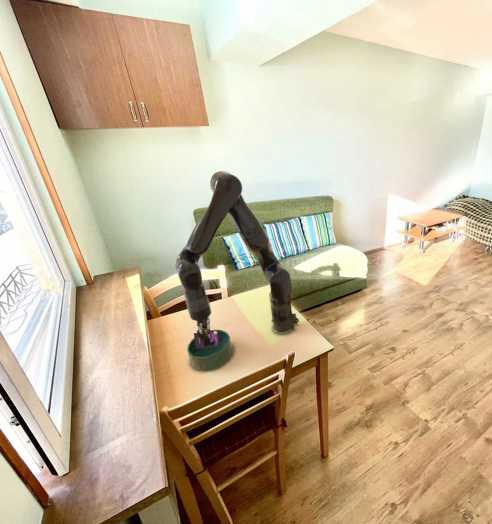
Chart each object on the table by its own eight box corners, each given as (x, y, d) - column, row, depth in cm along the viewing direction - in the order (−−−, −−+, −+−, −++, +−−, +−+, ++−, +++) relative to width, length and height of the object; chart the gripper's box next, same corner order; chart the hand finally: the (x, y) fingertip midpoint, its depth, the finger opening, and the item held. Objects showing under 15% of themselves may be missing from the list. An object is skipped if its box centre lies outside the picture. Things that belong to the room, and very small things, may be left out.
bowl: (233, 338, 126) (230, 326, 123) (232, 365, 112) (228, 352, 109) (194, 346, 122) (190, 333, 119) (188, 374, 108) (183, 362, 105)
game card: (193, 334, 109) (217, 330, 111) (196, 329, 114) (219, 326, 116) (195, 350, 110) (219, 346, 112) (199, 344, 115) (221, 341, 117)
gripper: (206, 314, 100) (216, 349, 108) (210, 293, 112) (219, 326, 120) (184, 318, 98) (195, 354, 106) (190, 296, 110) (200, 329, 118)
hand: (208, 339), depth 113 cm, fingers closed on game card, 4 cm apart
